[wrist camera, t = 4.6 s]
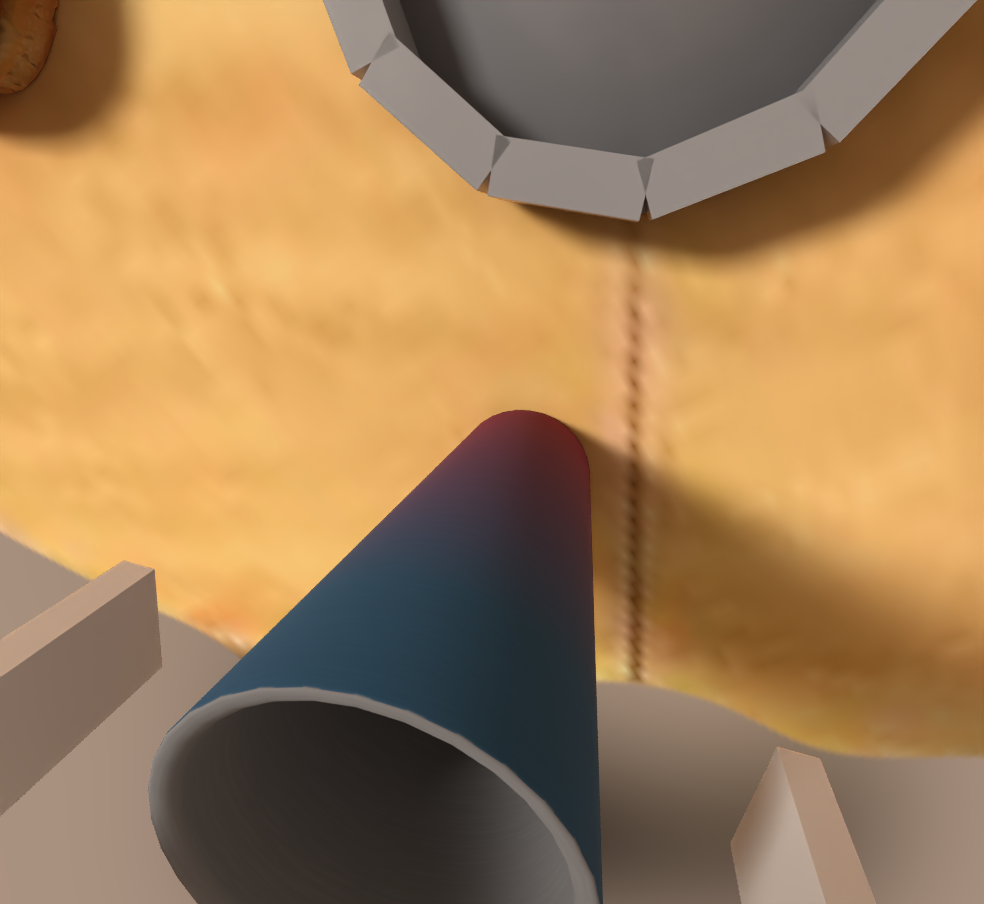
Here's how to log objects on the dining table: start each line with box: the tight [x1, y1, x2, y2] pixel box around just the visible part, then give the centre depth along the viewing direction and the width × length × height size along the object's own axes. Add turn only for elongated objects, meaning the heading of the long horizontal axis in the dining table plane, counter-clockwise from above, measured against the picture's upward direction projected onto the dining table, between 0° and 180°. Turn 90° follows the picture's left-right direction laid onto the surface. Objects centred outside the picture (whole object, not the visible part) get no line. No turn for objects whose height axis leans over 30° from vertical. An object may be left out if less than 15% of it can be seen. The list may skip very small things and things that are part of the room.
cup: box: [148, 410, 603, 904], centre depth 15 cm, size 7×7×15 cm
